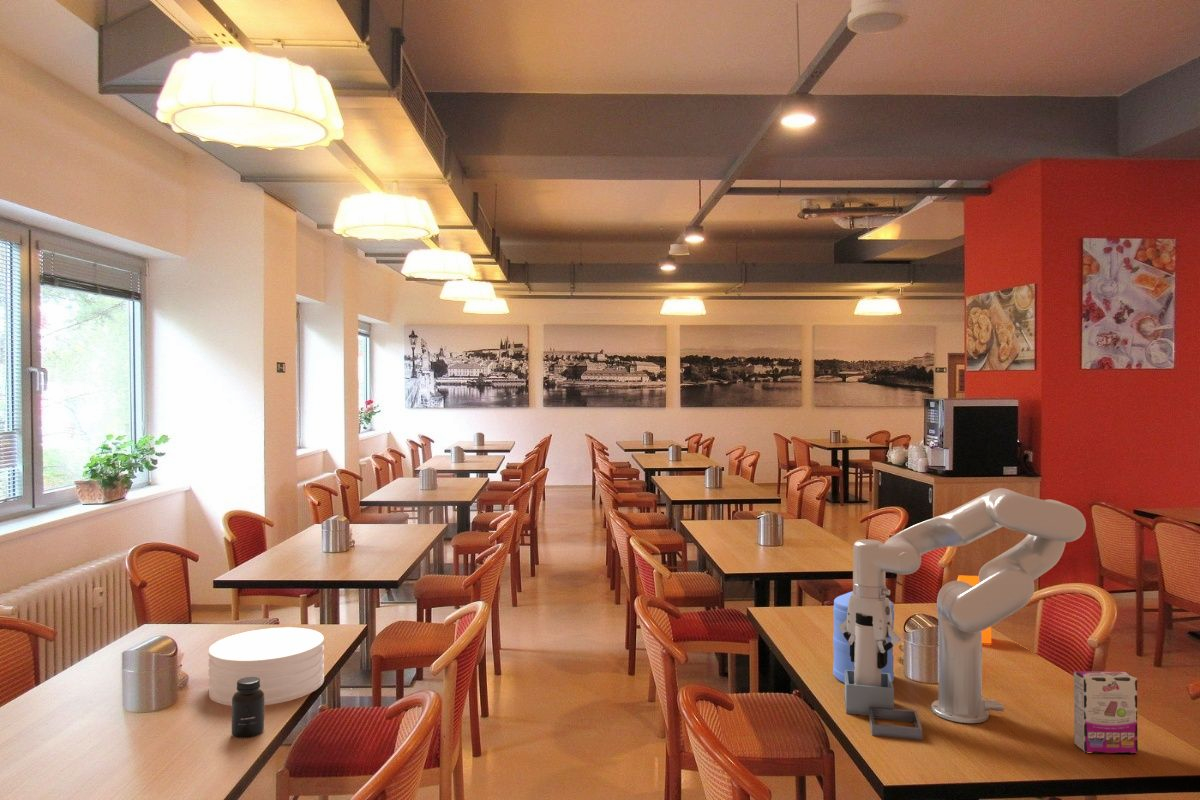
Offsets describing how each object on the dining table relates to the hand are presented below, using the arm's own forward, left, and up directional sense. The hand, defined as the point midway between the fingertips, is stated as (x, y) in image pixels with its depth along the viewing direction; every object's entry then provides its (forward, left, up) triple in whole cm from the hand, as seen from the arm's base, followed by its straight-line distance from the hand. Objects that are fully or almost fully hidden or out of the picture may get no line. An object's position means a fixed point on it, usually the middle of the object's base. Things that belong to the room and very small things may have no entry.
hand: (868, 663), depth 199 cm
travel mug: (0, 0, -7) cm, 7 cm away
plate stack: (+152, +24, -11) cm, 154 cm away
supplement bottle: (+137, +51, -11) cm, 147 cm away
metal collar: (-5, +11, -11) cm, 17 cm away
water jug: (0, -21, -11) cm, 23 cm away
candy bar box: (-48, +11, -11) cm, 51 cm away
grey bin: (0, 0, -11) cm, 11 cm away
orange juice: (-35, -65, -11) cm, 74 cm away
